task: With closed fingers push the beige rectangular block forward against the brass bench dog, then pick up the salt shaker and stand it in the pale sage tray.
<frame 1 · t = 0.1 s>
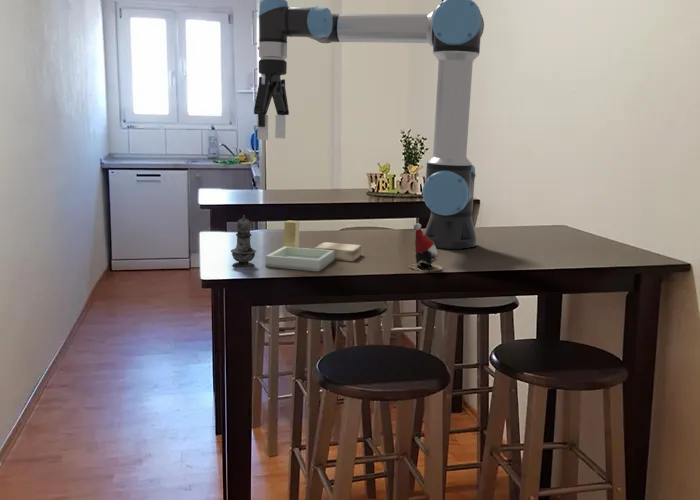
hand: (271, 139, 195), 28 cm above the table, fingers open, 13 cm apart
figurine: (425, 269, 170), on the table
tray: (300, 263, 170), on the table
beige rectangular block: (338, 257, 180), on the table
bench dog: (291, 252, 183), on the table
salt shaker: (243, 266, 165), on the table
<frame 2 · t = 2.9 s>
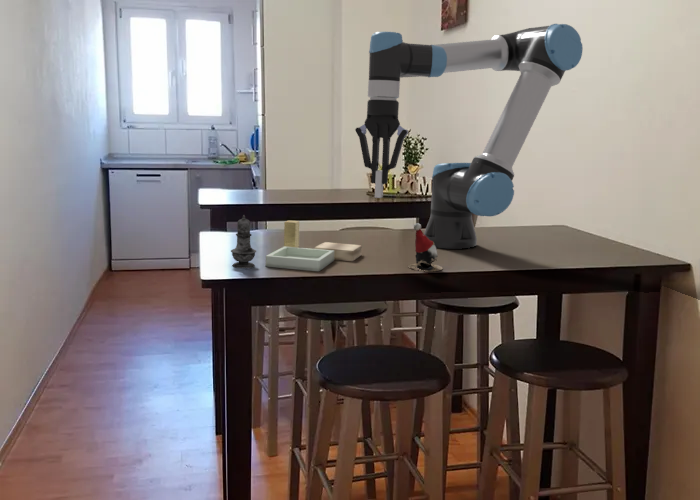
hand: (378, 197, 174), 16 cm above the table, fingers closed
nothing on the table moved.
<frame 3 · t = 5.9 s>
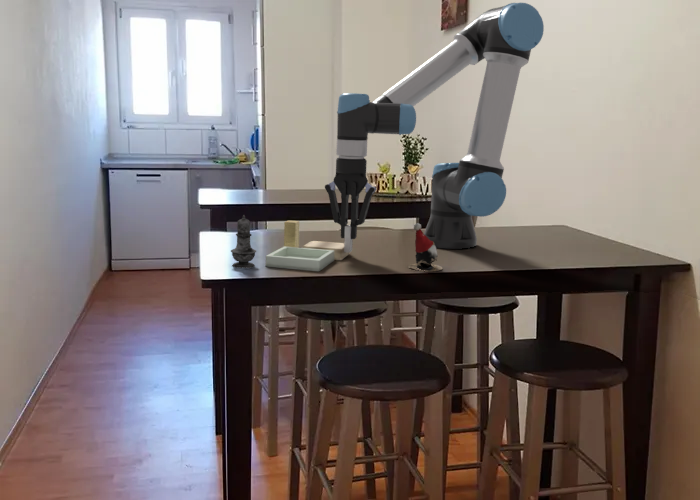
hand: (348, 251, 179), 1 cm above the table, fingers closed
beige rectangular block: (326, 256, 180), on the table
everything else where it was.
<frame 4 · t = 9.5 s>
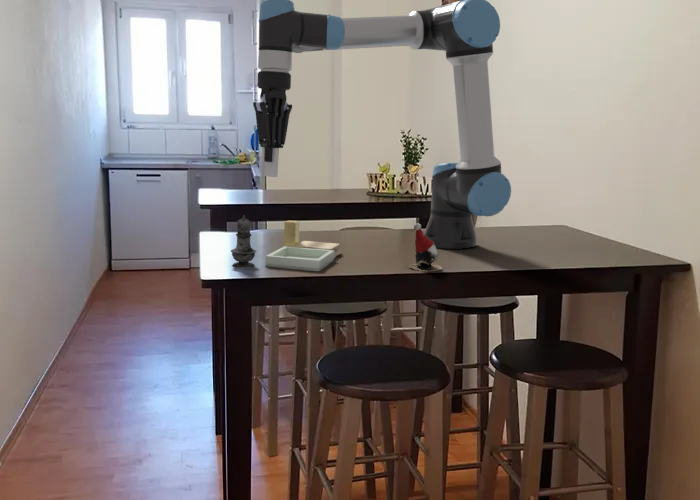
hand: (270, 176, 164), 21 cm above the table, fingers closed
beige rectangular block: (316, 256, 181), on the table
everything else where it was.
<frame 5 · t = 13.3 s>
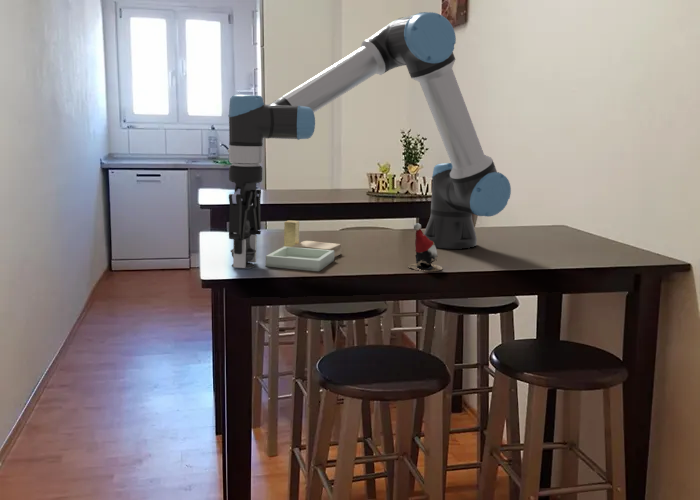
hand: (245, 264, 165), 0 cm above the table, fingers closed on salt shaker, 6 cm apart
salt shaker: (243, 266, 165), on the table, touching gripper
everything else where it was.
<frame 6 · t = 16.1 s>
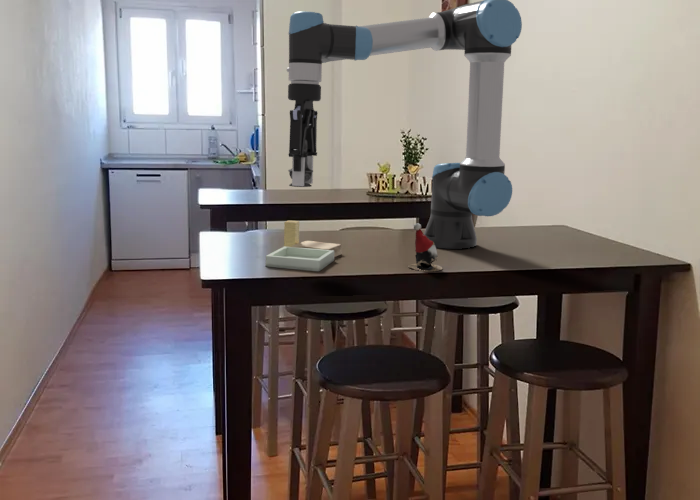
hand: (302, 184, 166), 19 cm above the table, fingers closed on salt shaker, 6 cm apart
salt shaker: (300, 186, 166), point 18 cm above the table, touching gripper
everything else where it was.
when the fingers open (2 cm above the table, at t = 19.3 s): salt shaker drops 1 cm, resting on tray.
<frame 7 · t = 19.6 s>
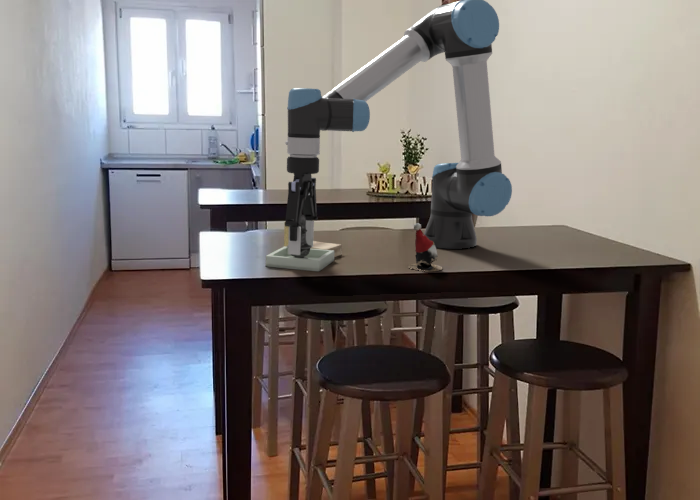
hand: (301, 250, 169), 3 cm above the table, fingers open, 9 cm apart
salt shaker: (299, 261, 170), resting on tray
everything else where it was.
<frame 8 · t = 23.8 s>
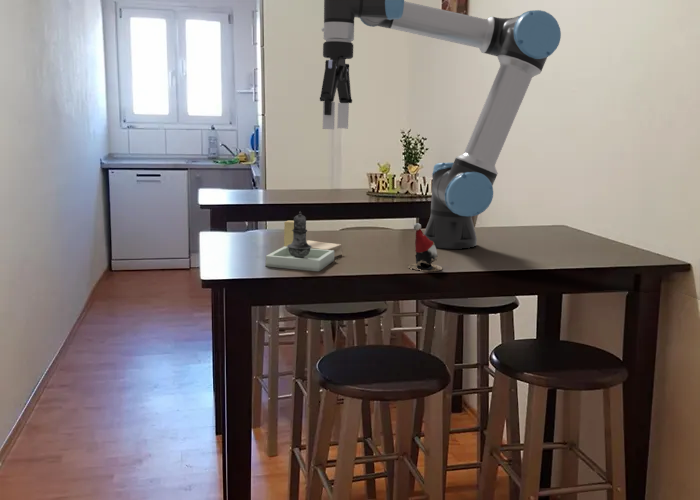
hand: (335, 128, 179), 32 cm above the table, fingers open, 13 cm apart
nothing on the table moved.
at the end: beige rectangular block 0.8 cm from the target spot, on the table; salt shaker 0.5 cm from the tray (horizontally); salt shaker tilted 0° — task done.
